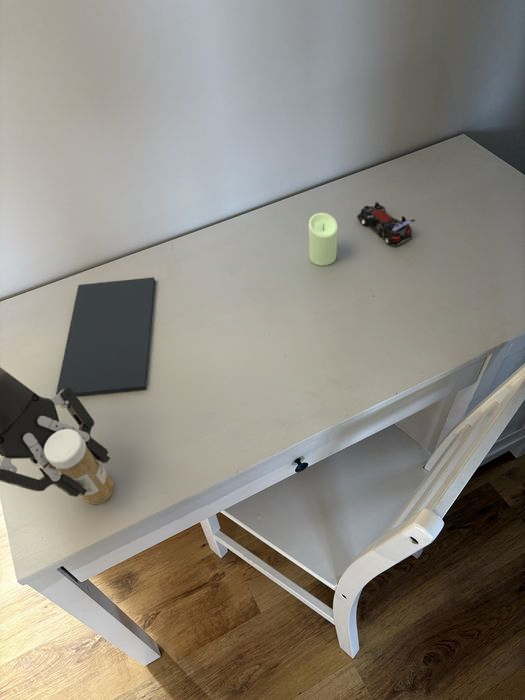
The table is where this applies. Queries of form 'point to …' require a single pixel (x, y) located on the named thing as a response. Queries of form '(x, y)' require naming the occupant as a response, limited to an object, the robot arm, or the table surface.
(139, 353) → the mat
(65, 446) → the sprinkles bottle
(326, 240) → the candle
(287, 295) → the table surface
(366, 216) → the toy car
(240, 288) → the table surface
